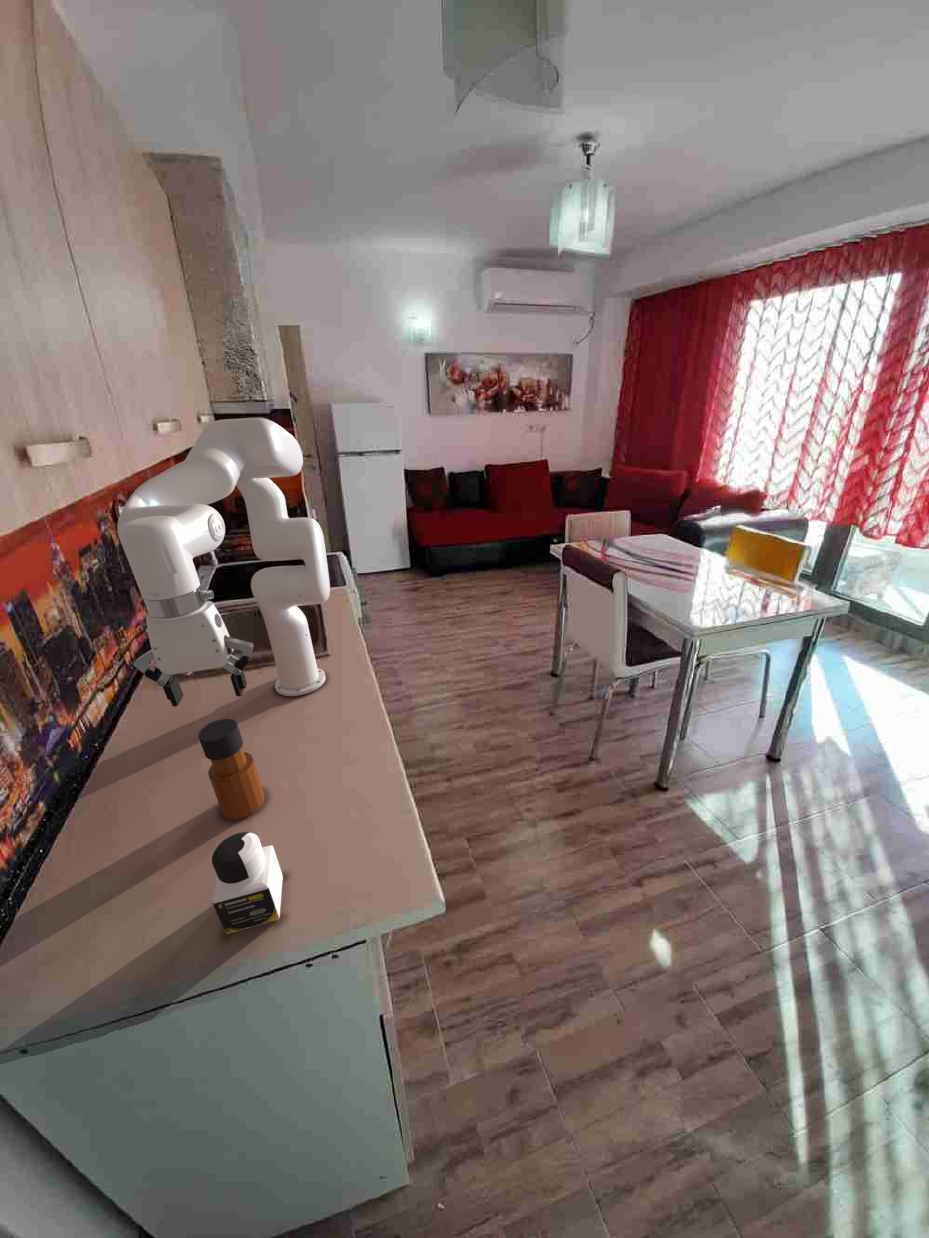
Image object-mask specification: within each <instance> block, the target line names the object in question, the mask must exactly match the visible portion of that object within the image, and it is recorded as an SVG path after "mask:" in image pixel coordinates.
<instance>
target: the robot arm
mask: <svg viewBox="0 0 929 1238" xmlns="http://www.w3.org/2000/svg"><path fill="white" fill-rule="evenodd" d="M303 466H304V456H303V451H302V448H301V445H300V444H299V442H298V440H296V438H295V437H294V436H293V435H292V434H291V433H290V432H288V431H287V430H286V429H285V428H284V427H282V426H280V425H279V424H278V423H276V422H274V421H273V420H270V419H268V418H265V417H245V418H244V417H242V418H241V417H240V418H227V419H226V418H224V419H218V420H213V421H212V422H209V423H207V424H206V425H205V426H204V427H203V429H202V430H201V432H200V434H199V436H198V437H197V439H196V441H195V443H194V444H193V445H192V447H191V449H190V450H189V452H188V454H187V455H186V457H185V459H184V460H183V461H181V462H179V463H177V464H174V465H173V466H171V467H169V468H167V469H166V470H164V471H162V472H160V473H159V474H157V475H154V476H153V477H151V478H150V479H148V480H146V481H144V482H143V483H142V484H141V485H139V486H138V487H137V488H136V489H135V490H134V491H133V492H132V493H131V495H130V496H129V498H128V500H127V501H126V503H125V504H124V505H123V508H122V509H121V511H120V514H119V516H118V520H117V535H118V538H119V539H118V540H119V541H120V544H121V545H122V549H123V551H124V554H125V557H126V558H127V559H126V560H127V561H128V563H129V566H130V569H131V572H132V574H133V576H134V580H135V581H136V584H137V587H138V589H139V592H140V594H141V595H140V596H141V597H142V600H143V603H144V604H145V607H146V610H147V612H148V613H147V614H146V616H145V620H146V621H145V622H146V630H147V631H146V632H147V635H148V641H149V645H150V648H151V649H149V650H148V651H146V652H145V653H143V654H142V655H140V656H139V657H137V659H136V660H135V661H134V662H133V666H134V667H135V668H136V669H137V670H138V671H140V673H142V674H144V677H145V678H147V679H148V680H151V681H153V682H155V683H156V685H157V686H158V687H162V689H163V691H164V694H165V696H166V699H167V701H170V703H171V706H172V707H173V708H175V707H178V706H179V705H180V703H181V702H182V700H183V698H184V692H183V690H182V687H181V684H180V681H179V679H178V677H177V676H176V675H181V674H187V673H194V672H201V671H207V670H214V669H220V668H223V669H224V670H226V671H227V672H228V673H230V674H231V675H230V678H229V679H230V682H231V685H232V688H233V690H234V694H235V696H236V697H242V696H243V694H244V690H245V689H247V687H248V682H247V678H246V676H245V672H244V669H245V668H246V666H247V665H248V664H249V663H250V659H251V657H252V654H253V650H254V647H255V645H254V643H253V642H250V641H247V640H242V639H239V638H234V637H231V635H230V634H229V631H228V629H227V626H226V624H225V622H224V619H223V618H222V616H221V614H220V612H219V611H218V609H217V607H216V606H215V604H214V602H213V601H211V600H212V599H214V598H215V593H214V591H213V590H212V589H205V588H204V586H203V584H201V581H200V579H199V575H198V572H197V569H196V566H195V563H194V561H193V559H194V558H196V557H199V556H202V555H205V554H208V553H211V552H213V551H214V550H216V549H217V548H218V547H219V546H220V545H221V544H222V542H223V541H224V538H225V535H226V525H225V521H224V519H223V517H222V515H221V514H220V513H219V511H217V509H215V508H214V507H212V506H210V504H214V503H216V502H218V501H220V500H223V499H225V498H227V497H229V496H230V495H231V494H232V493H233V492H234V490H235V487H237V489H238V491H239V492H240V494H241V495H242V498H243V500H244V503H245V508H246V514H247V521H248V526H249V533H250V540H251V545H252V549H253V552H254V554H255V556H256V557H257V558H258V559H259V560H262V561H264V562H265V561H266V562H276V561H277V562H279V561H281V562H282V561H293V560H302V561H303V562H304V564H300V565H279V566H270V567H265V568H262V569H259V570H258V571H256V572H255V573H254V574H253V576H252V577H251V580H250V589H251V594H252V596H253V598H254V600H255V602H256V604H257V606H258V608H259V610H260V613H261V615H262V618H263V621H264V624H265V628H266V632H267V636H268V641H269V644H270V647H271V652H272V655H273V660H274V663H275V667H276V670H277V674H278V678H277V679H276V680H275V682H274V689H275V691H276V692H277V694H279V695H281V696H285V697H298V696H303V695H307V694H310V693H312V692H314V691H316V690H317V689H318V690H319V688H321V686H323V685H324V683H325V682H326V679H327V678H326V674H325V671H324V670H323V669H322V668H319V667H318V665H317V661H316V656H315V651H314V650H315V649H314V646H313V642H312V637H311V632H310V628H309V623H308V620H307V616H306V615H305V613H304V612H303V610H301V608H299V607H300V606H314V605H321V604H325V603H326V602H327V601H328V600H329V598H330V594H331V582H330V574H329V564H328V559H327V558H328V557H327V551H326V550H327V549H326V542H325V536H324V532H323V530H322V527H321V525H320V524H319V522H318V521H317V520H315V519H314V518H312V517H307V516H306V517H304V516H303V517H289V515H288V509H287V501H286V497H285V495H284V493H283V492H282V490H281V489H280V488H279V486H278V485H276V483H274V482H273V480H272V479H271V478H288V477H294V476H296V475H298V474H299V473H301V471H302V469H303ZM234 650H237V651H240V652H241V653H242V654H241V656H240V657H237V656H235V655H234ZM153 660H154V661H155V663H156V665H157V667H156V666H153V665H152V664H151V662H152V661H153Z"/></svg>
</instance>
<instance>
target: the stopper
mask: <svg viewBox="0 0 929 1238" xmlns="http://www.w3.org/2000/svg"><path fill="white" fill-rule="evenodd" d="M197 737H198V740H199V743H200V745H201V748H202V751H203V753H204V757H205V758H206V759H208V760H210V761H211V760H222V759H225V758H228V757H230V756H232V755H234V754H235V753H237V752H238V751H239V750H240V749H241V747H242V748H243V745H244V740H243V737H242V734H241V731H240V728H239V724H238V722H237V721H236V720H234V719H233V718H221V719H217V720H214V721H213V722H210V723H207V725H205V726H204V727H202V728H201V729H200V730H199V732H198V735H197Z"/></svg>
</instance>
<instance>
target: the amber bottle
mask: <svg viewBox="0 0 929 1238" xmlns="http://www.w3.org/2000/svg"><path fill="white" fill-rule="evenodd" d="M210 763H211V765H210V767H209V769H208V771H207V775H208V778H209V780H210V784H211V786H212V789H213V792H214V794H215V797H216V800H217V802H218V805H219V807H220V811H221V813H222V814H223V816H224V817H225V818H226V819H229V820H241V819H244V818H247V817H249V816H251V815H253V814H254V813H256V812H257V811H258V810H259V809H260V808H261V807H262V805H263V804H264V802H265V797H266V795H265V792H264V789H263V786H262V783H261V779H260V776H259V773H258V770H257V767H256V764H255V761H254V758H253V755H252V754H250V753H249V752H246V751H244V748H243V746H242V747H241V749H240V750H239V751H238V752H237V753H235V754H234V755H232V756H230V757H228V758H225V759H222V760H210Z"/></svg>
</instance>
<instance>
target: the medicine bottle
mask: <svg viewBox="0 0 929 1238" xmlns="http://www.w3.org/2000/svg"><path fill="white" fill-rule="evenodd" d="M277 857H278V856H277V854H276V850H275V848H274V846H273V845H271V844H270V845H267V846H262V843H261V840H260V838H259V836H258V835H257V834H255V833H253V832H250V831H241V832H237V833H234V834H231V835H229V836H228V837H226V838H225V839H224V840H222V841H221V842H220V843H219V844H218V845H217V847H216V848H215V850H214V851H213V853H212V856H211V864H212V866H213V867H212V868H213V869H214V871H215V874H216V876H217V878H216V882H215V886H214V891H213V895H212V900H211V902H212V905H213V907H214V910H215V912H216V914H217V917H218V919H219V921H220V923H221V926H222V928H223V930H224V933H225V934H226V935H229V934H234V933H237V932H241V931H243V930H247V929H251V928H253V927H254V928H255V927H258V926H261V925H265V924H268V923H271V922H275V921H278V920H279V919H280V916H281V905H282V894H283V893H282V892H283V891H282V890H283V882H284V881H283V879H284V875H283V873H282V870H281V869H282V868H281V865H280V863H279V860H278V858H277Z"/></svg>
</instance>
